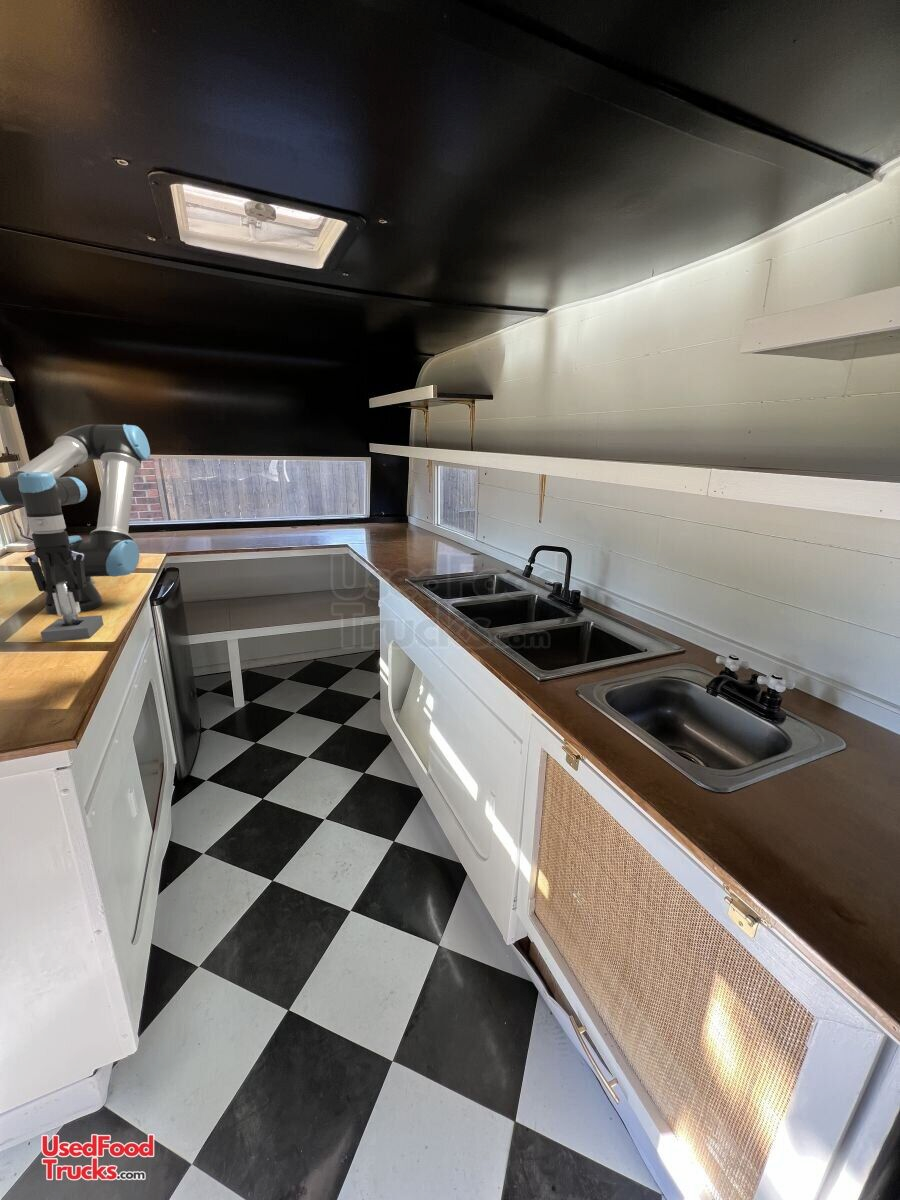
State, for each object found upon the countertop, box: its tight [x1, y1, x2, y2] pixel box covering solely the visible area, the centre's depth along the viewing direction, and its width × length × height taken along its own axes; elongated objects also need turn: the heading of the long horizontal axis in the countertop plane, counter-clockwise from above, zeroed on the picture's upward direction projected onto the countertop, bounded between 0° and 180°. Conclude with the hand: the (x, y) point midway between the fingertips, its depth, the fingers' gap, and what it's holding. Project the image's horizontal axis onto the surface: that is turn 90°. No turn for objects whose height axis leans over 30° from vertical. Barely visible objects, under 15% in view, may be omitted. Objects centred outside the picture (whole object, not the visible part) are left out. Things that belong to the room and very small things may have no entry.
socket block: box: [40, 614, 104, 643], centre depth 139 cm, size 11×11×3 cm
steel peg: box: [54, 581, 80, 626], centre depth 137 cm, size 3×3×14 cm
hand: (69, 613), depth 138 cm, fingers closed on steel peg, 3 cm apart
